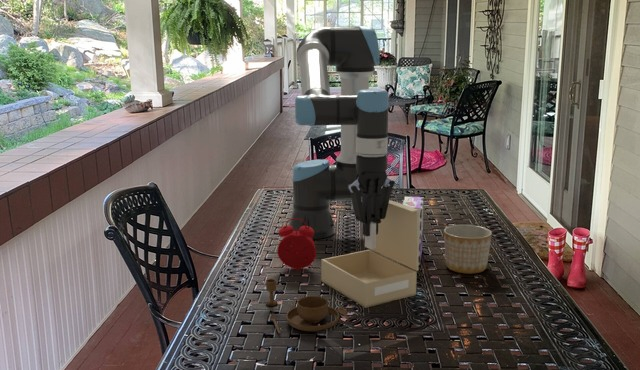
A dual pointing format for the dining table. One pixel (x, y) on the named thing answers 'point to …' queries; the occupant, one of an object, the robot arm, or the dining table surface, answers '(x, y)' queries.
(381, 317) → the dining table surface
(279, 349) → the dining table surface
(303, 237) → the alarm clock
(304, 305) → the place setting
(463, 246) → the planter
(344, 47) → the robot arm
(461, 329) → the dining table surface
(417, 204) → the candy box
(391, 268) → the box
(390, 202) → the lid
